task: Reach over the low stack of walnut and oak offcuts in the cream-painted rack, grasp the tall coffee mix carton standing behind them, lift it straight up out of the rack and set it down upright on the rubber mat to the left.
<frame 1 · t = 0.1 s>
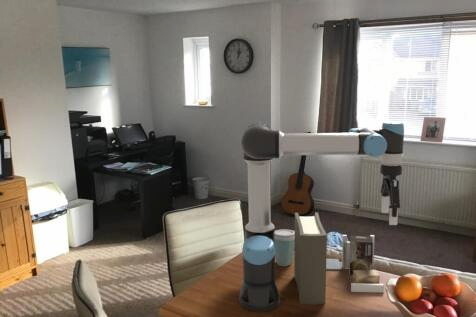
hand: (388, 218, 156), 28 cm above the table, fingers open, 13 cm apart
offcut lower: (364, 286, 163), on the table, touching offcut upper
coffee box: (360, 275, 171), on the table
mat: (328, 264, 181), on the table
disposable coffee cup: (284, 263, 184), on the table
book: (309, 290, 160), on the table
rack: (361, 279, 168), on the table
offcut upper: (366, 279, 162), point 3 cm above the table, touching offcut lower
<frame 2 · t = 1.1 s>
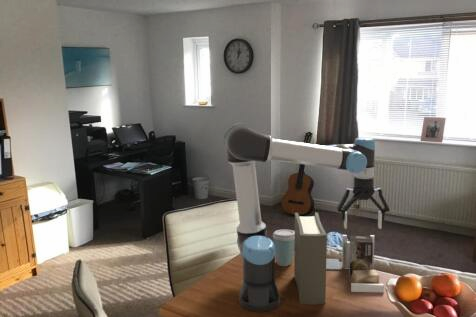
hand: (362, 227, 167), 21 cm above the table, fingers open, 13 cm apart
nothing on the table moved.
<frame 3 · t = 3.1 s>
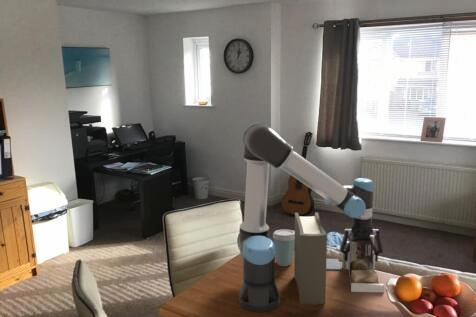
hand: (360, 268, 170), 3 cm above the table, fingers closed on coffee box, 9 cm apart
coffee box: (360, 275, 171), on the table, touching gripper
everything else where it was.
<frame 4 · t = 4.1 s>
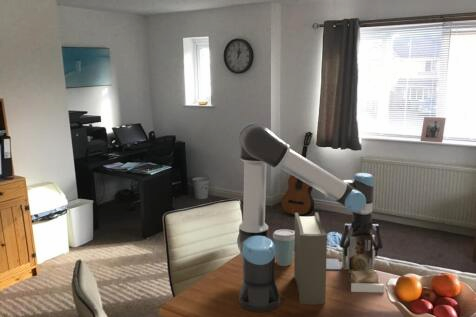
hand: (359, 263, 170), 5 cm above the table, fingers closed on coffee box, 9 cm apart
coffee box: (359, 270, 171), point 2 cm above the table, touching gripper
everything else where it was.
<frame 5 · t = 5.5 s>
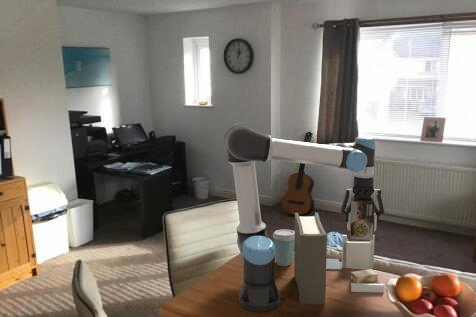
hand: (361, 229, 167), 20 cm above the table, fingers closed on coffee box, 9 cm apart
offcut lower: (364, 286, 163), on the table
coffee box: (361, 237, 168), point 17 cm above the table, touching gripper
offcut upper: (364, 279, 162), point 3 cm above the table
everything else where it was.
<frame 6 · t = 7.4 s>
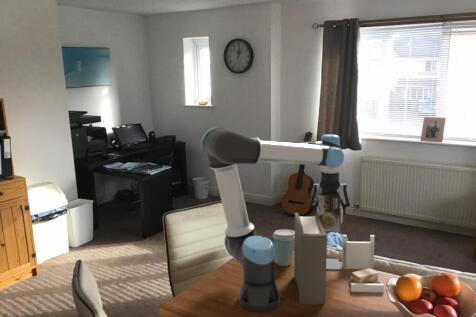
hand: (329, 222, 177), 20 cm above the table, fingers closed on coffee box, 9 cm apart
offcut lower: (364, 286, 163), on the table, touching offcut upper
coffee box: (328, 229, 178), point 16 cm above the table, touching gripper
offcut upper: (364, 279, 162), point 3 cm above the table, touching offcut lower
everything else where it was.
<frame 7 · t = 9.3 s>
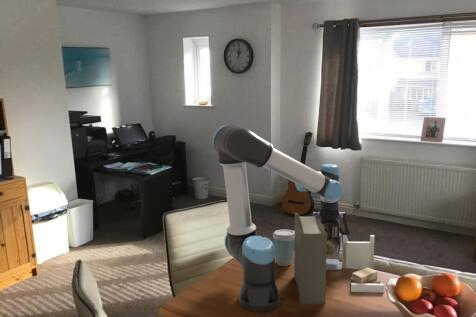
hand: (328, 249, 180), 7 cm above the table, fingers closed on coffee box, 9 cm apart
offcut lower: (364, 286, 163), on the table
coffee box: (328, 256, 180), point 4 cm above the table, touching gripper
offcut upper: (364, 278, 163), point 3 cm above the table
everything else where it was.
when the fingers open (5 cm above the table, at t = 10.5 s): coffee box stays where it is, resting on mat.
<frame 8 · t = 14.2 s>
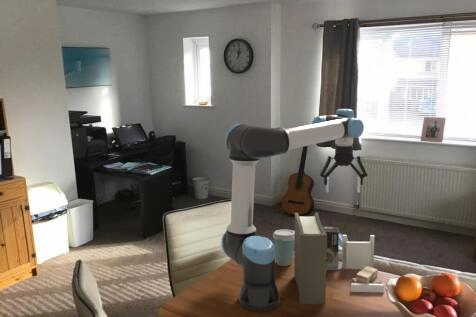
hand: (342, 191, 183), 31 cm above the table, fingers open, 13 cm apart
offcut lower: (366, 287, 162), on the table, touching offcut upper
coffee box: (327, 264, 181), resting on mat
offcut upper: (366, 278, 163), point 3 cm above the table, touching offcut lower
everything else where it was.
at the end: coffee box inside the target area on the mat (0.2 cm from its centre), point 0.4 cm above the mat's base; coffee box tilted 0°; the gripper is holding nothing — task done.
